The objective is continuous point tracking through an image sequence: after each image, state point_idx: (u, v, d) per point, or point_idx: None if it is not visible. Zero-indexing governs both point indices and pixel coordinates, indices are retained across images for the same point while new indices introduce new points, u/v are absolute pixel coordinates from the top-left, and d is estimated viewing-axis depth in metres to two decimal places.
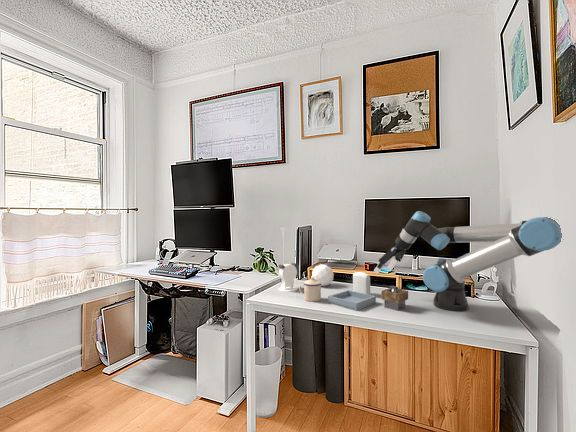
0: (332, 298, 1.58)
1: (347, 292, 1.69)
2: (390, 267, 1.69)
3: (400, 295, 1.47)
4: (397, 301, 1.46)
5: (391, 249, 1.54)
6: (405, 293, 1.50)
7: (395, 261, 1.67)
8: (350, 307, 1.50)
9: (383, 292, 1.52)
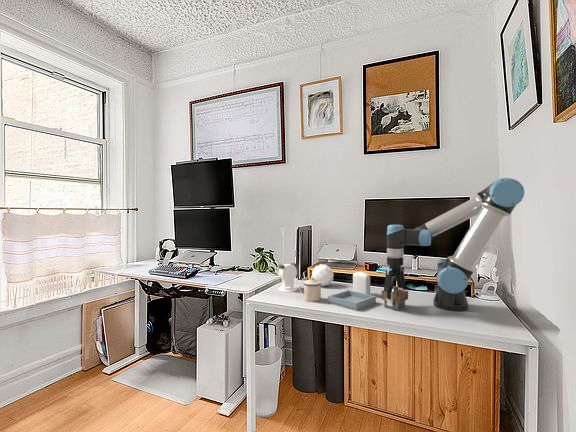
0: (332, 298, 1.58)
1: (347, 292, 1.69)
2: None
3: (400, 295, 1.47)
4: (397, 301, 1.46)
5: (387, 273, 1.48)
6: (405, 293, 1.50)
7: None
8: (350, 307, 1.50)
9: (383, 292, 1.52)
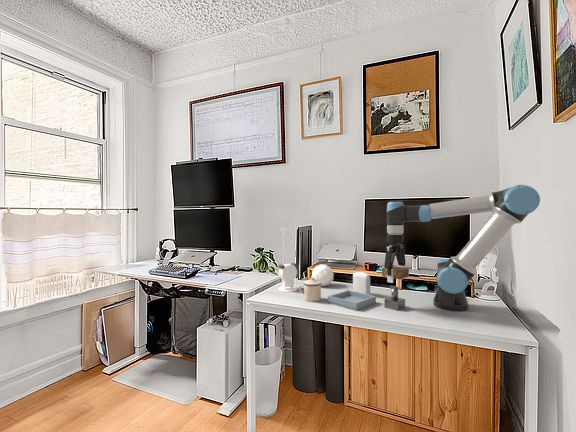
0: (332, 298, 1.58)
1: (347, 292, 1.69)
2: None
3: (400, 271, 1.46)
4: (398, 277, 1.46)
5: (387, 249, 1.47)
6: (405, 270, 1.50)
7: None
8: (350, 307, 1.50)
9: (383, 269, 1.51)
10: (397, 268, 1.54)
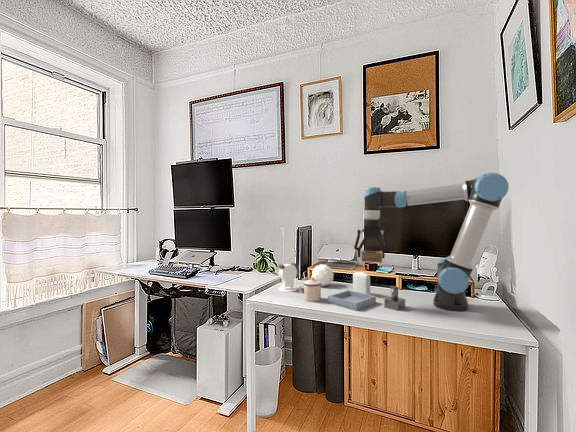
0: (332, 298, 1.58)
1: (347, 292, 1.69)
2: (380, 262, 1.55)
3: (364, 254, 1.52)
4: (362, 259, 1.53)
5: (357, 232, 1.57)
6: (375, 255, 1.51)
7: None
8: (350, 307, 1.50)
9: None
10: None
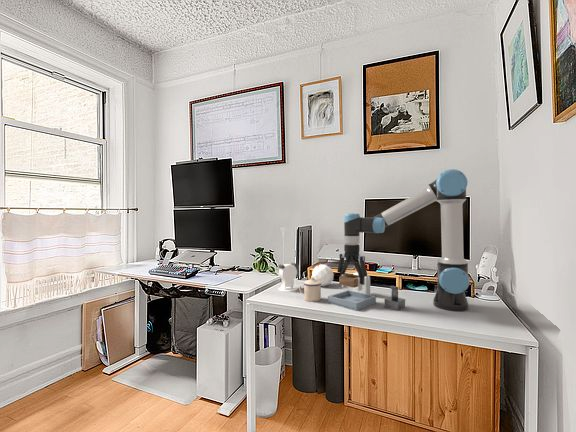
0: (332, 298, 1.58)
1: (347, 292, 1.69)
2: None
3: (341, 278, 1.58)
4: None
5: None
6: (349, 279, 1.55)
7: None
8: (350, 307, 1.50)
9: None
10: None
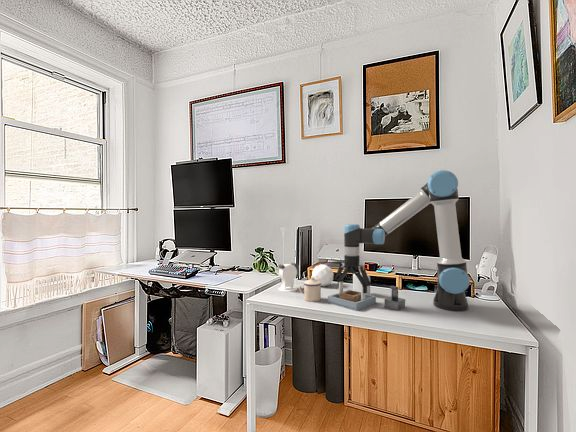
0: (332, 298, 1.58)
1: None
2: None
3: (341, 295, 1.59)
4: None
5: None
6: (349, 297, 1.55)
7: None
8: (350, 307, 1.50)
9: None
10: None
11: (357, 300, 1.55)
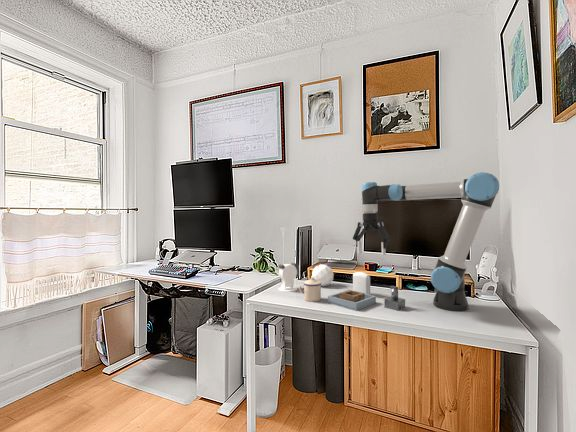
0: (332, 298, 1.58)
1: None
2: None
3: (341, 295, 1.59)
4: None
5: None
6: (349, 297, 1.55)
7: None
8: (350, 307, 1.50)
9: None
10: None
11: (357, 300, 1.55)
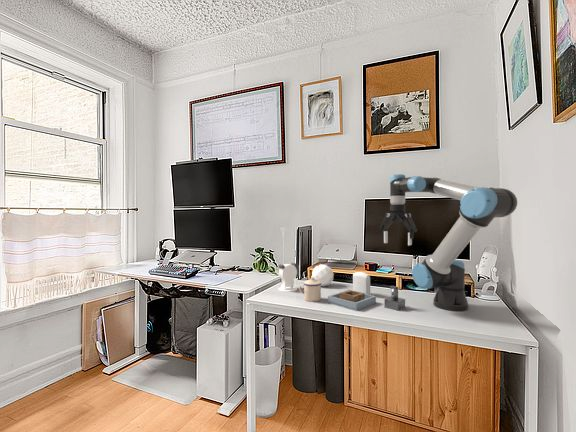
0: (332, 298, 1.58)
1: None
2: None
3: (341, 295, 1.59)
4: None
5: None
6: (349, 297, 1.55)
7: None
8: (350, 307, 1.50)
9: None
10: None
11: (357, 300, 1.55)
